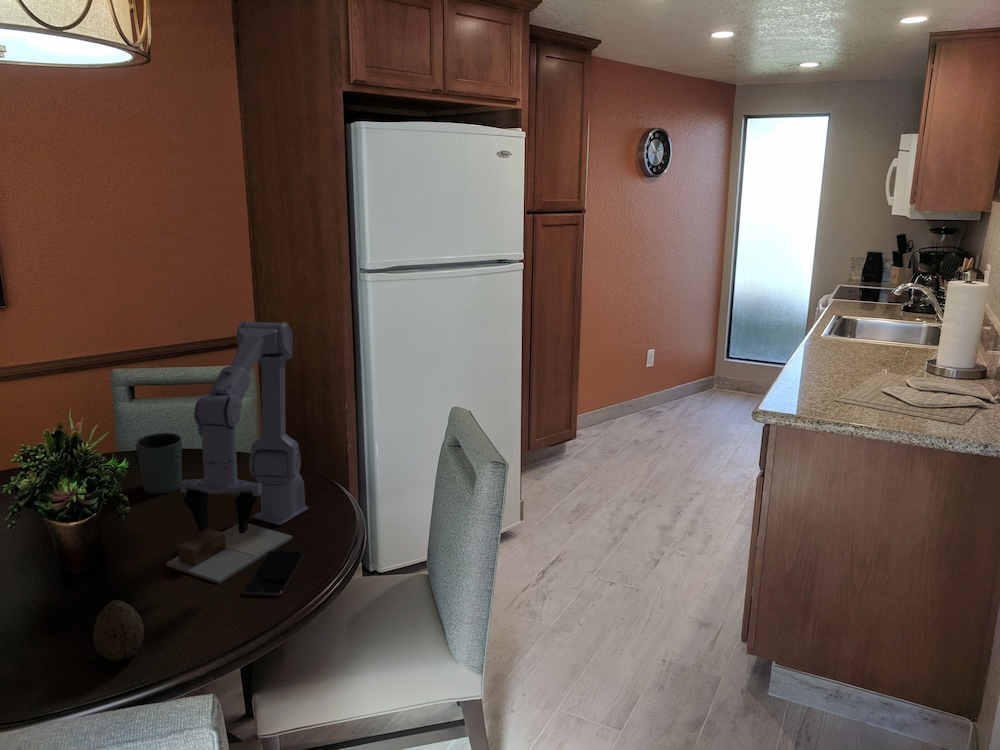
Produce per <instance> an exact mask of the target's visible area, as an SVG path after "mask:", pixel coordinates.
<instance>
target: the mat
mask: <svg viewBox="0 0 1000 750" xmlns="http://www.w3.org/2000/svg"><path fill="white" fill-rule="evenodd" d="M221 532H222V533H224V534H225V545H226V549H225V550H223V551H221V552H220V553H218V554H216V555H214V556H213V557H211V558H209V559H207V560H206V561H204V562H202V563H200V564H199V565H197V566H195V567H193V566H190V565H187V564H184V563H181V562H179V555H178V556H176V557H174V558H172V559H171V560H169V561H167V562H165V567H168V568H172V569H175V570H178V571H181V572H183V573H187V574H189V575H192V576H195V577H198V578H201V579H204V580H207V581H210V582H213V583H216V584H219V585H220V584H221V583H223V582H225V581H226V580H228V579H230V578H231V577H232V576H233V577H234V575H236V574H238V573H239V572H240V571H242V570H244V569H245V568H247V567H249V566H251V565H253V563H255V562H257V561H258V560H260V559H262V558H264V557H266V556H267V555H268V553H269V552H270V551H276V550H277V549H278V548H280V547H281V546H283V545H284V544H287V543H288V542H289V541H291V540H292V539H293V535H290V534H286V533H283V532H280V531H278V530H277V531H276V530H273V529H269V528H266V527H263V526H258V525H254V524H253V523H248V528H247V530H246V531H245V532H244V533H243V534H241V533H239V526H238V523H237V524H235V525H233V526H231V527H229V528H228V529H225V530H224V531H221Z"/></svg>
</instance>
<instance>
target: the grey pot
mask: <svg viewBox="0 0 1000 750" xmlns="http://www.w3.org/2000/svg"><path fill="white" fill-rule="evenodd" d="M135 447H136V454H137V457H138V464H139V469H140V474H141V482H142V488H143V490H144V492H146V493H148V494H153V495H159V494H167V493H171V492H173V491H176V490H178V489H181V488H180V483H181V482H182V481H183V474H182V473H183V472H182V467H183V463H182V458H183V457H182V456H183V455H182V453H183V439H182V436H180V434H177V433H173V432H172V433H171V432H161V433H160V432H159V433H151V434H149V435H144V436H143V437H140V438H138V439H137V440H136V441H135Z"/></svg>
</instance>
